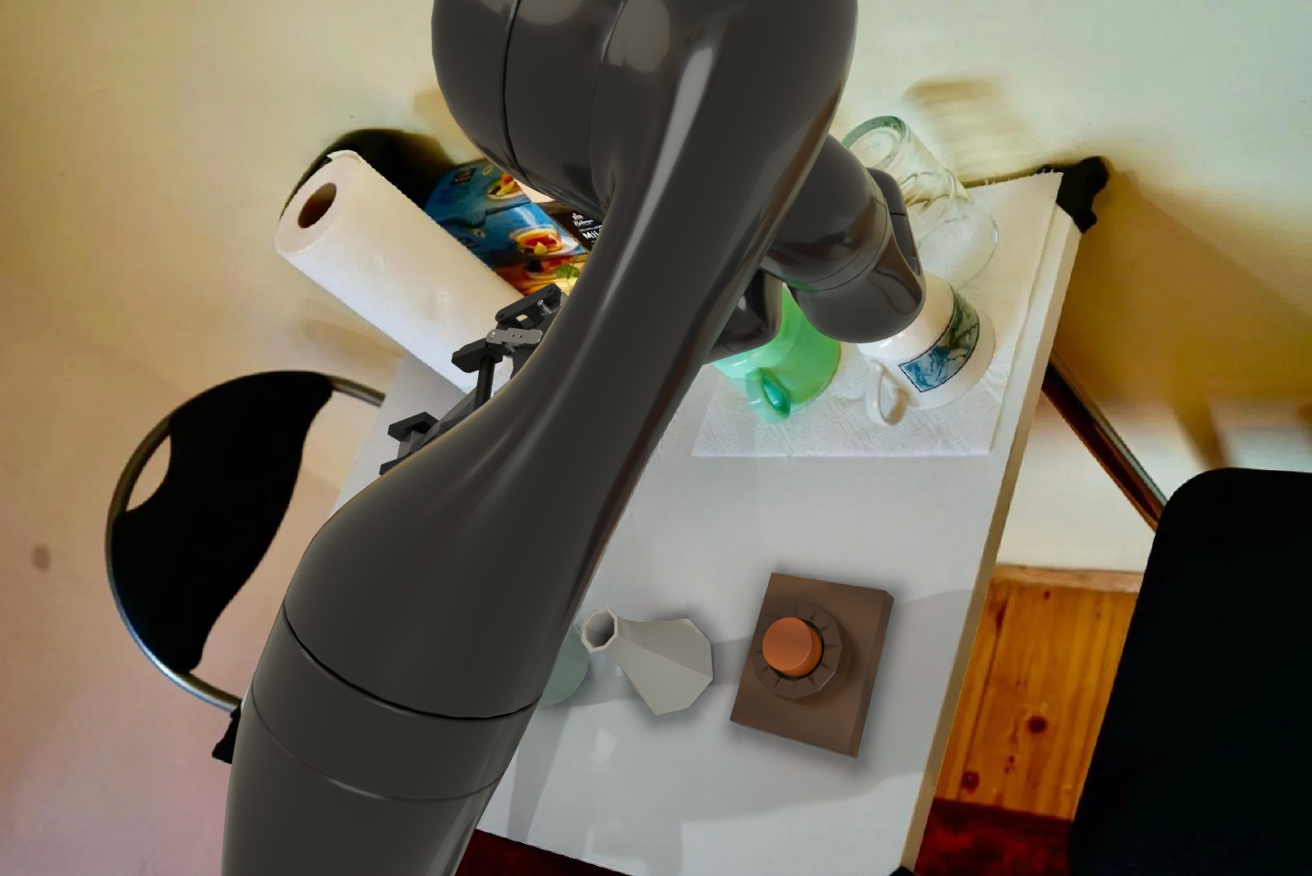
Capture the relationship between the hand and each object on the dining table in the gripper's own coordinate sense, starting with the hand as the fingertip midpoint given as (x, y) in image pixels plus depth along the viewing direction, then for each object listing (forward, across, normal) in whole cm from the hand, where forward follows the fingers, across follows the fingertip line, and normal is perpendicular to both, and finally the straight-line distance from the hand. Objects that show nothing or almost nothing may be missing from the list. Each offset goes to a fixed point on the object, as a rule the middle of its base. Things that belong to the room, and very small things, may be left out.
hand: (453, 398), depth 70 cm
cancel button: (-22, +19, +14) cm, 32 cm away
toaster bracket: (+8, 0, +18) cm, 20 cm away
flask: (-11, +18, +17) cm, 27 cm away
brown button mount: (-22, +19, +17) cm, 34 cm away
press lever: (+3, 0, +4) cm, 5 cm away
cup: (0, +17, +18) cm, 24 cm away
